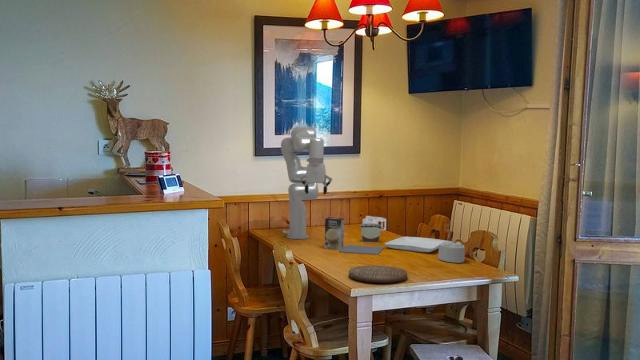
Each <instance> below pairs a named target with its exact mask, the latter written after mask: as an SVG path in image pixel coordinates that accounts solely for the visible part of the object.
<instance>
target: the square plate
mask: <svg viewBox="0 0 640 360" xmlns="http://www.w3.org/2000/svg"><path fill="white" fill-rule="evenodd" d="M446 241H447V242H448V241H449V240H444V239H437V238H430V237H421V236H420V237H418V236H402V237H398V238H395V239H393V240H389V241H387V242H384V245H385V246H386V247H387V248H390V249H394V250H399V251H400V250H401V251H408V252H414V253H415V252H416V253H431V252H434V251H436V250H439V244H442V243H443V242H446Z"/></svg>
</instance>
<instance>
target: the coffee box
mask: <svg viewBox="0 0 640 360" xmlns="http://www.w3.org/2000/svg"><path fill="white" fill-rule="evenodd" d="M344 238H345V218H342V217H333V216H332V217H330V216H328V217H325V218H324V249H326V250H336V251H337V250H338V251H340V250H341V249H343V248H344Z"/></svg>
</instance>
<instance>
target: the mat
mask: <svg viewBox="0 0 640 360" xmlns="http://www.w3.org/2000/svg"><path fill="white" fill-rule="evenodd" d="M384 249H385V247H384V246H375V245H374V246H371V245H357V244H356V245H355V244H346V245H345V246H343V249H341V250H338V253H341V254H342V253H344V254H346V253H347V254H358V255H359V254H360V255H373V256H375V255H376V256H378V255H379V254H380V253H381V252H382V251H383V250H384Z"/></svg>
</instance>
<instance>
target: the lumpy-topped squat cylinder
mask: <svg viewBox="0 0 640 360" xmlns="http://www.w3.org/2000/svg"><path fill="white" fill-rule="evenodd" d="M447 241H448V242H447ZM465 251H466V247H465V245H464V244H462V242H460V241H456V242H454V241H452V240H446V242H443V243H442V244H439V248H438V260H440V261H443V262H448V263H453V264H454V263H458V264H459V263H464V262H465V254H466V253H465Z"/></svg>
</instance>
